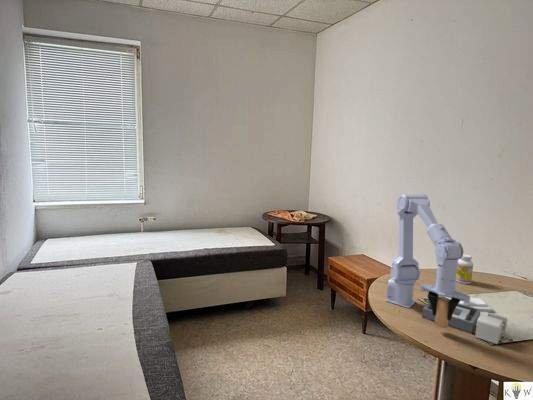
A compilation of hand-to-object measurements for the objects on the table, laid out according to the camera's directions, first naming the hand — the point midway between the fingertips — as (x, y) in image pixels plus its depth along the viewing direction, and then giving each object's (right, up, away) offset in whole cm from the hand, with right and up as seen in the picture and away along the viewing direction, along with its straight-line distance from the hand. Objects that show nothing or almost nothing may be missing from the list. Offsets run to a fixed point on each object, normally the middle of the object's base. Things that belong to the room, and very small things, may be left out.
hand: (442, 316), depth 116 cm
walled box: (+9, -4, +11) cm, 15 cm away
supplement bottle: (+34, 0, +48) cm, 58 cm away
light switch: (+23, -4, +23) cm, 33 cm away
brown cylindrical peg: (0, -3, 0) cm, 3 cm away
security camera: (+19, -3, +3) cm, 20 cm away
